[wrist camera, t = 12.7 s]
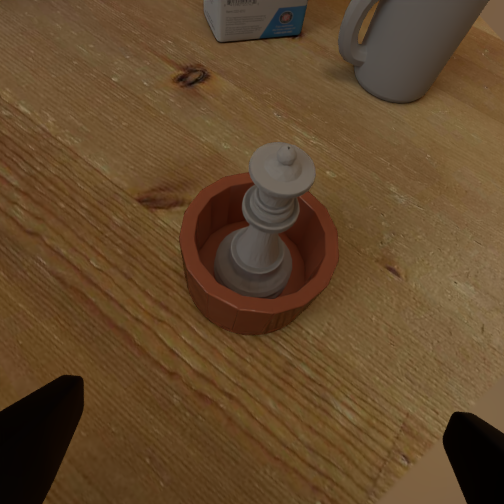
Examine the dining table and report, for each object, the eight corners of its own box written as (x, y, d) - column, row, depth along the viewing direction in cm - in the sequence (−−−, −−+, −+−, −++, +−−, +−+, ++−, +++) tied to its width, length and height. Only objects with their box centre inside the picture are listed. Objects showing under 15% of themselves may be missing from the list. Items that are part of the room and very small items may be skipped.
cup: (437, 106, 30) (521, -7, 22) (332, 103, 28) (381, -21, 20) (411, 56, 33) (477, -59, 25) (316, 50, 31) (353, -75, 23)
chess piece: (255, 323, 18) (303, 232, 9) (197, 272, 19) (190, 145, 10) (301, 269, 20) (379, 150, 11) (246, 225, 21) (277, 83, 12)
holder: (313, 342, 19) (342, 322, 15) (174, 327, 18) (165, 301, 14) (312, 225, 22) (335, 183, 18) (196, 209, 22) (194, 162, 18)
